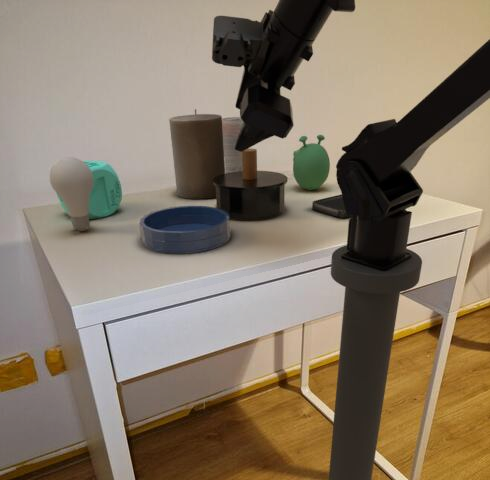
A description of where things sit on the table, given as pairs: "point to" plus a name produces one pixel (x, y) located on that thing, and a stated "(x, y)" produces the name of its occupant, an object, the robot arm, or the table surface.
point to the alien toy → (311, 164)
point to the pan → (185, 229)
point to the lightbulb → (73, 188)
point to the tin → (251, 203)
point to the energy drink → (231, 144)
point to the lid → (249, 176)
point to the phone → (331, 206)
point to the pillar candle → (197, 154)
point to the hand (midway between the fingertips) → (238, 128)
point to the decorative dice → (102, 190)
